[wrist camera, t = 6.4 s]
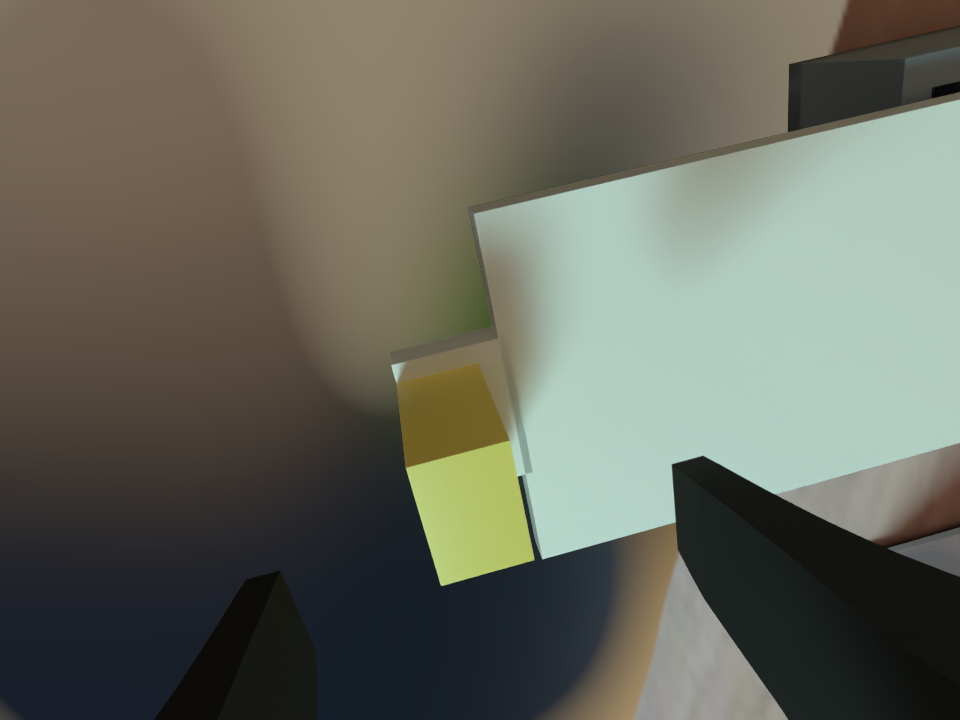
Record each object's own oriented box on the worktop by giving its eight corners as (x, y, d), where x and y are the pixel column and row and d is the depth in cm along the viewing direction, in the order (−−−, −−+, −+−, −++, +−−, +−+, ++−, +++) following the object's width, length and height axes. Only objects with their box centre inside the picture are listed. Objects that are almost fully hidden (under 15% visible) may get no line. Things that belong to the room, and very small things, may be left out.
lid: (965, 421, 19) (1119, 508, 16) (450, 564, 18) (474, 696, 14) (1022, 77, 15) (1255, 74, 11) (355, 233, 14) (353, 291, 10)
